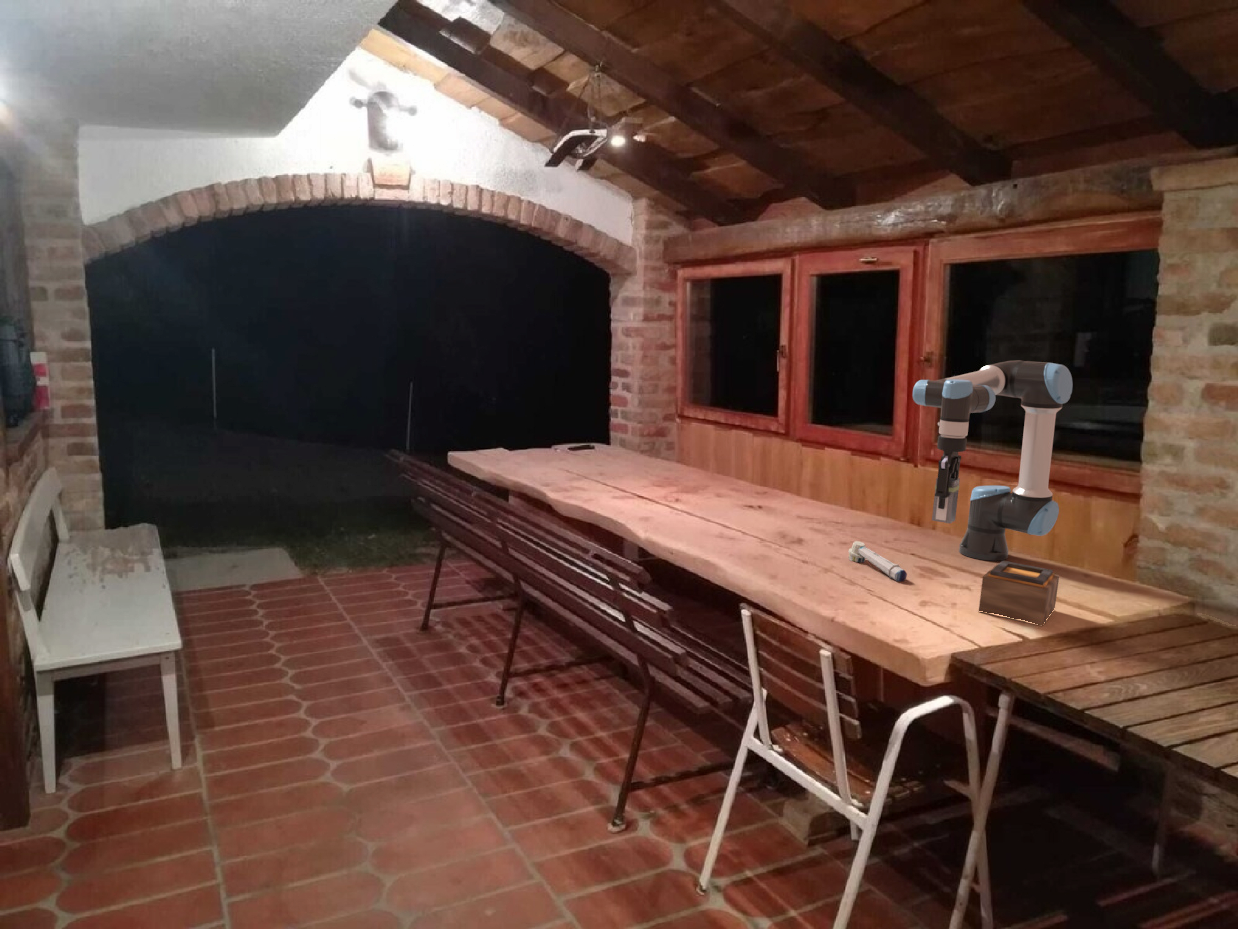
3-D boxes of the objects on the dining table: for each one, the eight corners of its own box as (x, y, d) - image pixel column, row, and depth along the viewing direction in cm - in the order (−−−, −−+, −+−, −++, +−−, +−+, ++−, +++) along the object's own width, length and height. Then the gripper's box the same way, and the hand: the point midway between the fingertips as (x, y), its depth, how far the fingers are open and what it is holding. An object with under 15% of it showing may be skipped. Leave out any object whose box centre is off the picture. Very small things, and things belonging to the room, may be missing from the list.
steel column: (936, 517, 260) (941, 475, 257) (955, 520, 257) (960, 478, 254) (931, 520, 255) (935, 478, 253) (950, 523, 252) (954, 481, 250)
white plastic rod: (895, 570, 268) (847, 537, 290) (891, 591, 270) (844, 556, 292) (910, 569, 270) (861, 536, 292) (905, 589, 272) (857, 555, 294)
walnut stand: (993, 597, 258) (998, 558, 256) (1054, 610, 249) (1060, 570, 247) (978, 612, 246) (983, 571, 243) (1042, 626, 237) (1048, 583, 234)
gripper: (948, 430, 261) (939, 509, 265) (928, 437, 246) (920, 521, 251) (975, 433, 257) (966, 514, 261) (957, 441, 242) (948, 526, 247)
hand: (943, 517), depth 256 cm, fingers closed on steel column, 5 cm apart
